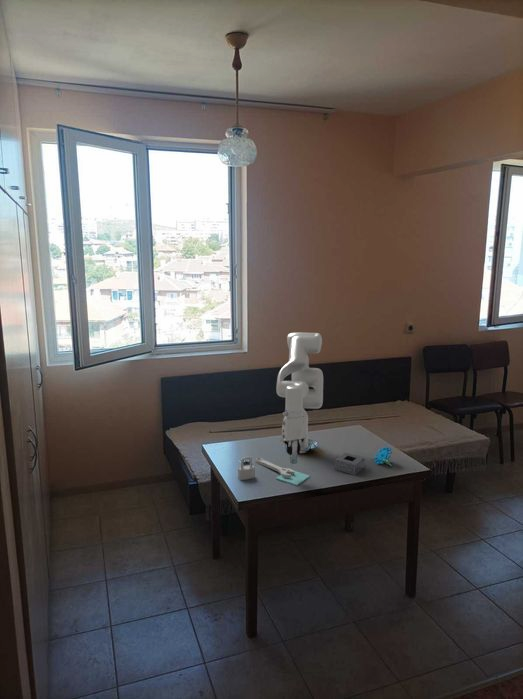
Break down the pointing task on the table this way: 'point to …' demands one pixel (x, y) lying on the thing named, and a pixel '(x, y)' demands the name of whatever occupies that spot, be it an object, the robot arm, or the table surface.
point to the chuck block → (349, 463)
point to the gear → (383, 456)
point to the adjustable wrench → (276, 468)
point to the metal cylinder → (294, 452)
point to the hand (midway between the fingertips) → (293, 452)
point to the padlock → (246, 470)
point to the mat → (294, 478)
